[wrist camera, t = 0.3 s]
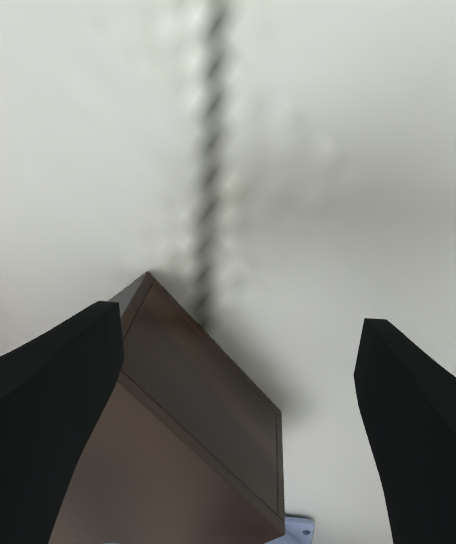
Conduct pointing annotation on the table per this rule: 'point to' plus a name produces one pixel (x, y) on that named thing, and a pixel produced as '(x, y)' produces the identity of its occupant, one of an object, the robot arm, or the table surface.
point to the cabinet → (176, 441)
